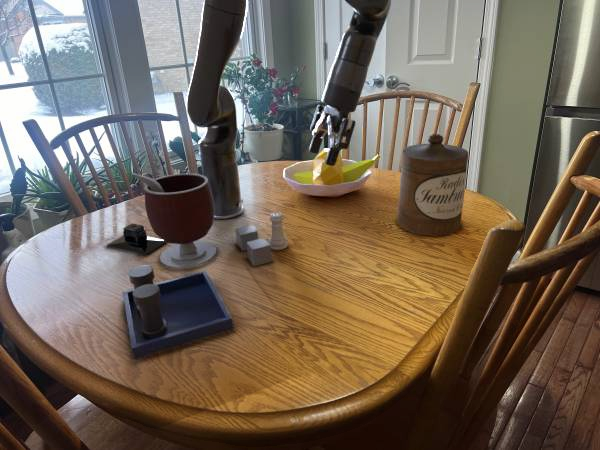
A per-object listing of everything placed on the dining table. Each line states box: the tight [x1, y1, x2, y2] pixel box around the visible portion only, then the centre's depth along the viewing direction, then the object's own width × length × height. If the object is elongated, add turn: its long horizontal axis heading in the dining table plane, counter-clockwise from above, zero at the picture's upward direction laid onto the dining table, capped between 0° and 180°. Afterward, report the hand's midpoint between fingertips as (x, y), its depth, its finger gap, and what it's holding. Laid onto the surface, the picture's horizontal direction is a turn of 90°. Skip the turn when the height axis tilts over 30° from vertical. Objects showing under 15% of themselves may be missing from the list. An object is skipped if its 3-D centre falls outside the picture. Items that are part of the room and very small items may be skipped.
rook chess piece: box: [268, 211, 289, 251], centre depth 98 cm, size 4×4×8 cm
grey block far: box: [234, 224, 259, 252], centre depth 100 cm, size 4×4×4 cm
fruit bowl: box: [282, 148, 381, 198], centre depth 130 cm, size 28×27×11 cm
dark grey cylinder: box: [133, 283, 168, 340], centre depth 70 cm, size 4×4×8 cm
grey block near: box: [246, 237, 273, 267], centre depth 93 cm, size 4×4×4 cm
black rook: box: [128, 264, 161, 315], centre depth 76 cm, size 4×4×8 cm
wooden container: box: [397, 133, 469, 237], centre depth 103 cm, size 15×15×22 cm
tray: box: [121, 270, 234, 360], centre depth 76 cm, size 18×16×3 cm
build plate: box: [106, 223, 167, 256], centre depth 103 cm, size 12×7×5 cm, turn 65°
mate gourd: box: [130, 172, 217, 268], centre depth 93 cm, size 16×14×20 cm
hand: (321, 158), depth 96 cm, fingers open, 8 cm apart
